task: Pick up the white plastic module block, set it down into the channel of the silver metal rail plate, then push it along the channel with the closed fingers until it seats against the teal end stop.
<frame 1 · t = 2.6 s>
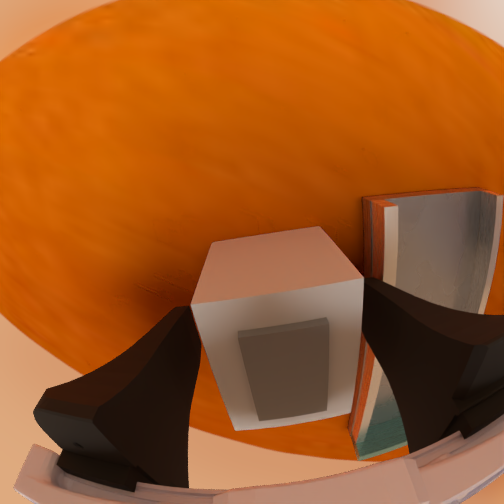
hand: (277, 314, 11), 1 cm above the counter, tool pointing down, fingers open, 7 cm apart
module: (274, 295, 13), on the counter
rail plate: (415, 336, 14), on the counter
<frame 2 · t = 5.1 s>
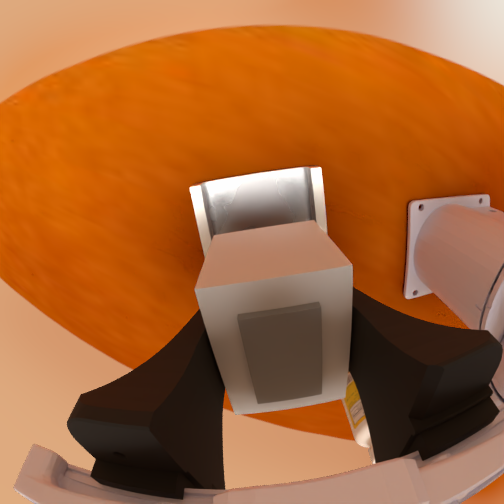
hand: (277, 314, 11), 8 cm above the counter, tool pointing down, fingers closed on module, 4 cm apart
module: (272, 287, 13), point 5 cm above the counter, touching gripper
supplement bottle: (361, 371, 23), on the counter
rail plate: (272, 293, 20), on the counter
when the fingers open (3 cm above the counter, at t = 6.7 s): module stays where it is, resting on rail plate.
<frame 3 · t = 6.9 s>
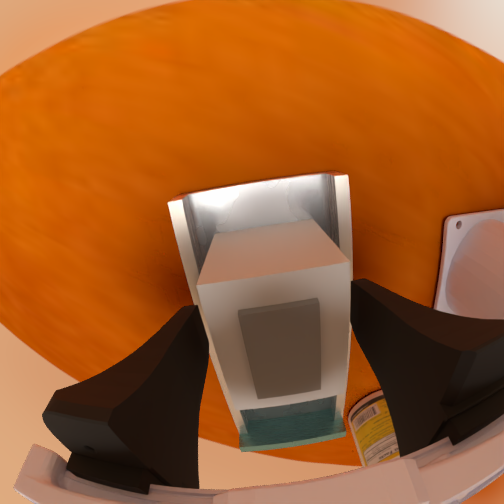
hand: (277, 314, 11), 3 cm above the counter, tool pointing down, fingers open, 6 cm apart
module: (272, 284, 14), point 1 cm above the counter, touching rail plate
supplement bottle: (376, 404, 19), on the counter
rail plate: (278, 331, 16), on the counter
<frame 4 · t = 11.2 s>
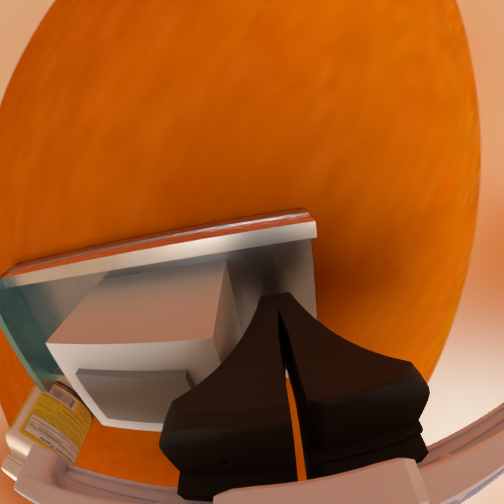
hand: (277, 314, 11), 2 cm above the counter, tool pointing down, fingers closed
module: (172, 314, 12), point 1 cm above the counter, touching gripper, rail plate
supplement bottle: (69, 393, 16), on the counter
rail plate: (141, 310, 13), on the counter
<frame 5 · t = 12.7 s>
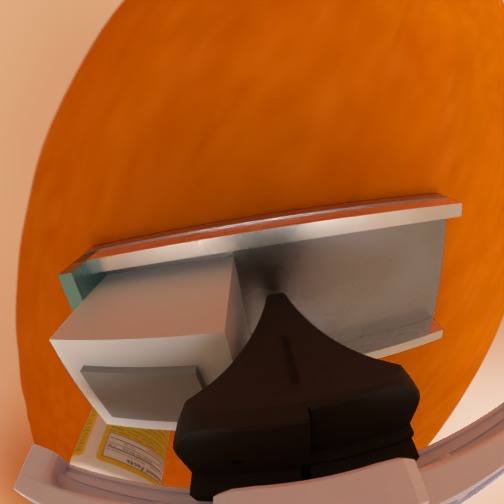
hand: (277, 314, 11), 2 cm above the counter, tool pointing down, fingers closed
module: (178, 311, 12), point 1 cm above the counter, touching gripper, rail plate
supplement bottle: (138, 399, 16), on the counter
rail plate: (280, 292, 13), on the counter
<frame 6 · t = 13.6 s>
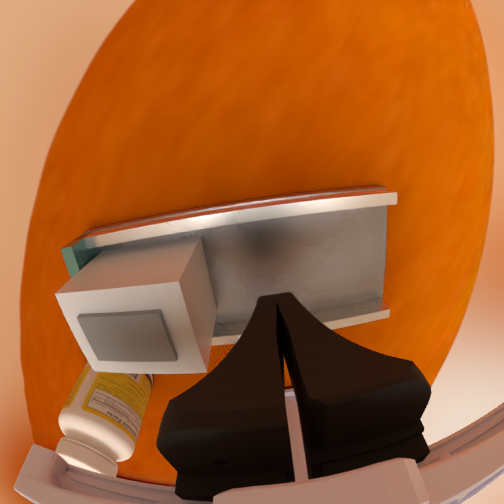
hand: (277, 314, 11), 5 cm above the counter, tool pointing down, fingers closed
module: (157, 281, 15), point 1 cm above the counter, touching rail plate
supplement bottle: (124, 367, 19), on the counter
rail plate: (237, 268, 16), on the counter
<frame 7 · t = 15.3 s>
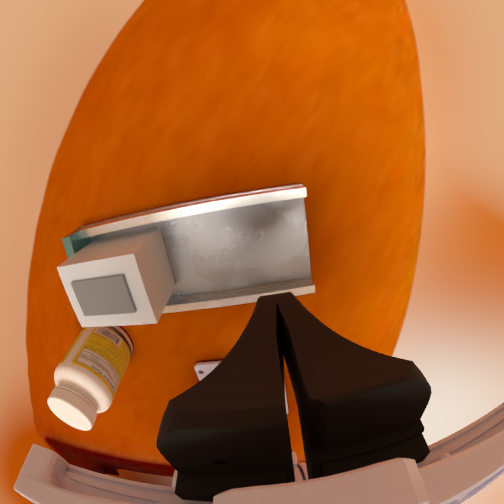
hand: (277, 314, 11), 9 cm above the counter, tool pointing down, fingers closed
module: (131, 262, 19), point 1 cm above the counter, touching rail plate
supplement bottle: (110, 339, 23), on the counter
rail plate: (190, 252, 20), on the counter
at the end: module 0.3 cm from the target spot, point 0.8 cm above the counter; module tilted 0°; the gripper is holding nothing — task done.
